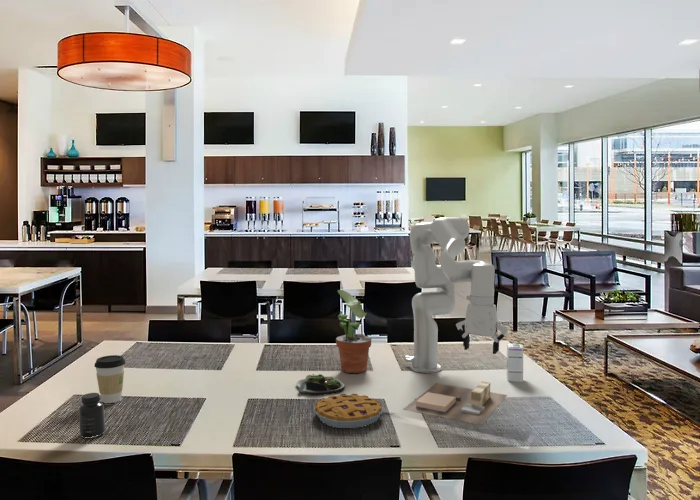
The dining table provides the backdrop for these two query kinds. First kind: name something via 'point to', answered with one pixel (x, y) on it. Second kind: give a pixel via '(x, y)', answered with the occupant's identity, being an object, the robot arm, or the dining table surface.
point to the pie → (348, 410)
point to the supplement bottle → (91, 415)
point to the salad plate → (320, 385)
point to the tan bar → (478, 399)
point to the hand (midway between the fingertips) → (480, 351)
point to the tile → (436, 402)
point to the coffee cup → (110, 377)
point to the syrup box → (515, 362)
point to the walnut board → (459, 404)
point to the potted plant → (352, 338)
